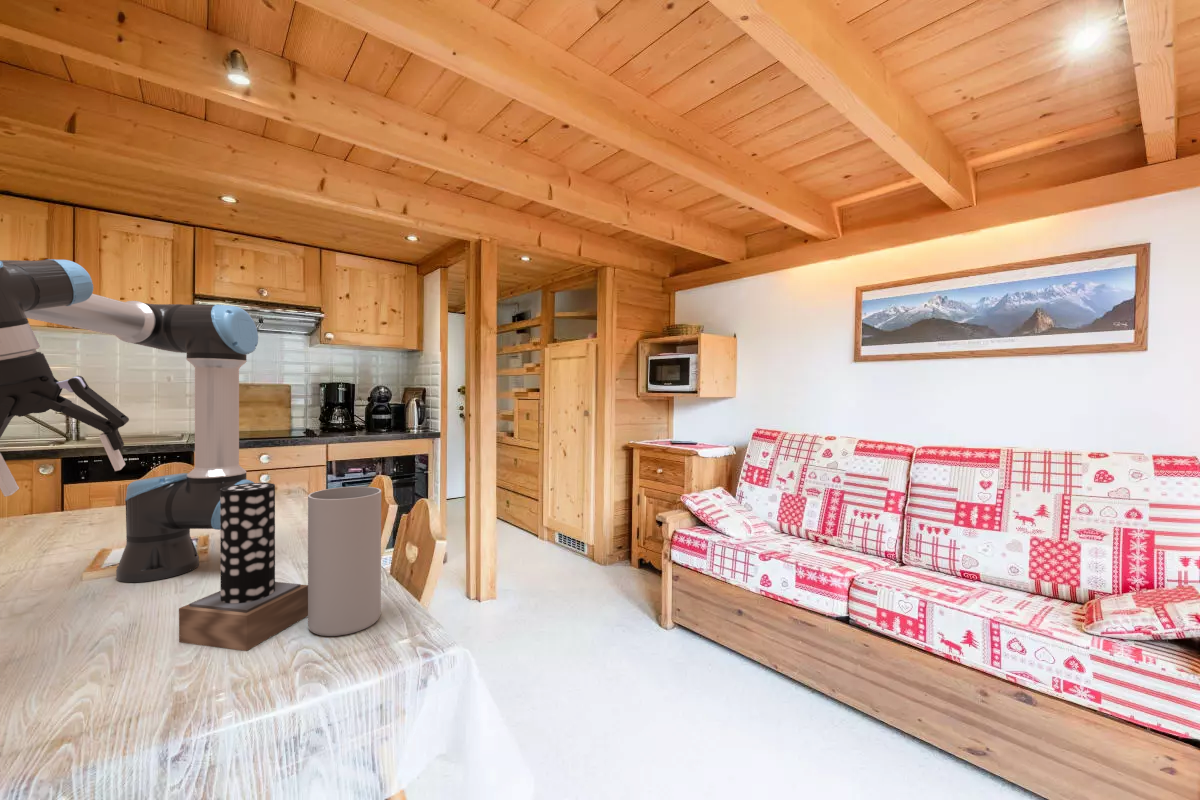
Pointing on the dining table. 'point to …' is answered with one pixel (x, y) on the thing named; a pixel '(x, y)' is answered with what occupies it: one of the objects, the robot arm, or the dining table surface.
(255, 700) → the dining table surface
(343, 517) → the cylinder vase
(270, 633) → the display pedestal
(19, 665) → the dining table surface
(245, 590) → the spotted tube
